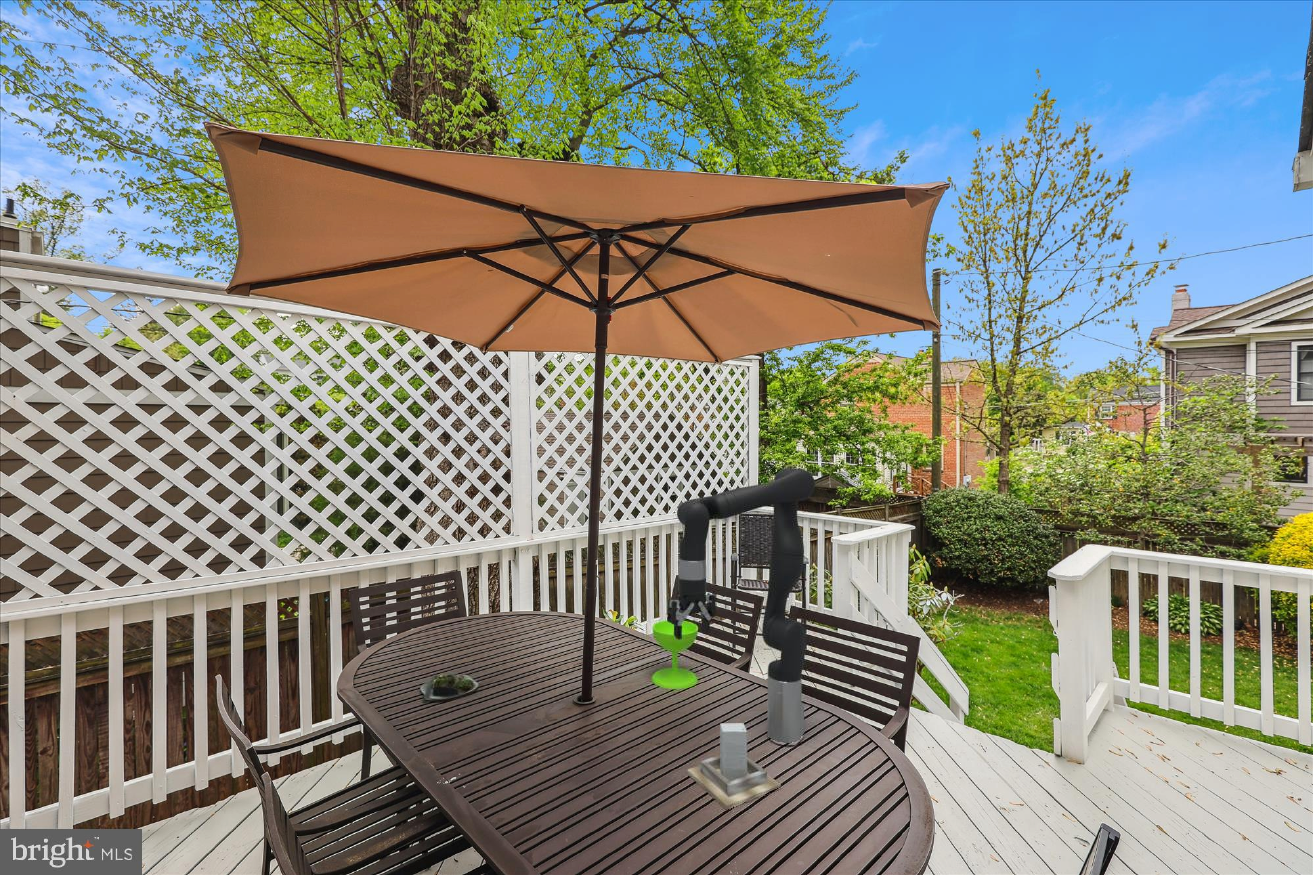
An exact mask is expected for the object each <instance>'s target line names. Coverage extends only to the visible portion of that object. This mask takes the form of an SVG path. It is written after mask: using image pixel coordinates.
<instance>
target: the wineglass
mask: <svg viewBox="0 0 1313 875" xmlns="http://www.w3.org/2000/svg"><path fill="white" fill-rule="evenodd" d="M681 625H682V639H680V640H678V639H677V638H676V637H675V636H674V624H672V623H670V622H668V621H667V620H661V621H658V622H655V623H654V624H653V625H652V628H651V629H652V633H653V636H654V639H655V641H656V643H657V644H658V646H660V647H661V648H663V649H664V650H666V651H668V652H671V653H672V654H671V659H672V660H671V667H668V668H667V667H666V668H662V669H659V670H657V671H656V672H654V674H653V675H652V677H651V681H652V683H653V684H654V685H656V686H658V687H660V688H664V689H668V690H669V689H670V690H682V689H688V688H691V687H693V686H696V685H697V683H698V676H697V674H695V673H694V672H692V670H691V671H690V670H688V669H686V668H679V667H678V666H679V663H678V661H679V658H678V655H679V654H678V653H679V652H682V651H685V650H687V649H688V648H690V647H691V646H692V645H693V644H694V642H696V639H697V636H698V631H699V626H698V625H697V624H696V623H693V622H690V621H686V620H683V622H682V624H681Z"/></svg>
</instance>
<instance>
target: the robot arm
mask: <svg viewBox="0 0 1313 875" xmlns="http://www.w3.org/2000/svg"><path fill="white" fill-rule="evenodd" d="M815 488H816V481H815V478H814V476H813V475H812V474H811V473H810V472H809V471H808V470H806V469H803V468H798V467H797V468H795V467H794V468H793V467H787V468H786V467H785V468H783V469H780V470H778V471H777V473H776V475H775V476H774V479H773V480H772V481H767V482H765V483H759V484H755V485H748V486H744V487H743V486H742V487H738V488H733V489H730V490H726V491H723V492H720V493H716V494H713V495H710V496H709V495H708V496H704V497H696V498H693V499H692V498H691V499H689V500H686V501H684V502H682V503H680V505H679V506H678V508H677V511H676V517H677V519H678V521H679V522H680V523H681V524H682V525H683V526H684V530H683V537H681V539H680V541H679V562H678V578H677V579H678V586H677V589H678V590H677V591H678V599H672V598H669V599H668V602H667V617H666V618H667V619H666V621H668V622H670V623H672V624H674V636H675V637H676V638H677V639H678V640H680V639H682V625H681V624H682V622H683V621H685V620H686V619H687V617H688V616H692V615H695V614H696V615H697V614H700V616H701V633H702V634H703V635H708V634H709V632H710V629H711V628H710V620H711V619H712V618H716V616H717V608H716V605H717V604H716V600H717V599H716V595H714V594H712V593H707V563H706V562H707V560H706V552H707V551H706V549H707V547H706V542H707V539H708V538H707V537H708V533H709V528H710V521H711V520H725V519H727V518H731V517H734V516H738V515H741V514H745V513H747V512H750V511H753V510H757V509H761V508H763V507H767V506H771V505H773V519H772V520H773V521H772V531H771V532H772V534H771V536H772V537H771V547H770V557H769V560H770V561H769V575H768V576H769V579H768V587H767V589H768V590H767V597H766V603H765V609H764V614H763V620H762V629H761V631H762V632H761V633H762V634H761V635H762V639H763V641H764V643H765V645H766V646H768V647H770V648H772V649H774V650H777V651H779V652H780V659H776V660H772V661H771V662H769V663H768V665H767V737H768V736H769V737H770V738H771V739H772V740H775V741H777V742H783V743H791V742H796V741H798V740H800V738H801V736H802V735H803V734H804V735H805V704H804V703H803V702H802V693H803V688H802V687H803V686H802V674H803V669H804V665H805V656H806V644H807V643H806V640H807V639H806V638H807V637H806V630H805V627H804V625H803V624H802V623H801V622H800V621H798V620H795V619H793V618H789V617H786V610H787V602H788V597H789V596H790V594H791V592H792V591H793V589H794V587H795V586H796V585H797V583H798V582H799V580H800V578H801V576H802V574H803V570H804V562H805V561H804V559H805V558H804V557H805V546H804V541H803V540H804V539H803V537H802V532H801V530H800V525H799V521H798V507H799V506H798V505H799V502H801V501H804V500H807V499H809V498H810V497H811V496H812V494H813V493H814V492H815ZM705 604H706V607H705ZM706 608H707V609H706Z"/></svg>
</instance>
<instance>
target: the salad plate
mask: <svg viewBox="0 0 1313 875" xmlns="http://www.w3.org/2000/svg"><path fill="white" fill-rule="evenodd" d="M419 689H420V691H421V693H422V694H423V700H426V701H430V702H433V703H445V702H452V701H455V700H458V699H459V700H460V699H463V698H466V697H469V696H470V695H471V696H472V695H474V694H475V693H476V691H477V690H478V689H479V682H477V681H476V680H474V679H473V678H472V677H471V676H469V675H467V674H453V675H452V673H448V674H445V675H443V674H440V675H437V674H436V675H433V676H432V677H431V680H430V681H428V682H426V683H423V684H422V685H421V686H420V688H419Z"/></svg>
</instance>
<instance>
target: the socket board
mask: <svg viewBox="0 0 1313 875" xmlns="http://www.w3.org/2000/svg"><path fill="white" fill-rule="evenodd" d="M699 763H700V764H699V765H696V766H694V767H691V768H688V769H687V775H688V776H689V777H690V778H692V779H693V781H695V782H696V783H697V784H698V785H699V786H700V787H702V789H704V791H705V792H707V794H709V795H710V796H711V797H712V799H714V800H715V799H716V800H715V801H716V802H717V801H718V802H717V803H718V804H719V803H720V804H719V805H720V806H722V807H723V808H724V809H725V810H726V809H727V810H726V811H729V810H731V808H732V809H734V808H737V807H739V806H741V805H740V804H742V803H744V802H746V801H749V800H750V799H752V798H754V797H757V796H760V795H761V794H764V793H767V792H769V791H772V790H774V789H777V788H779V787H781V788H782V784H781V783H779V782H778V781H777V780H776V779H774V778H773V777H772V776H770V775H769V774H768V771H767V770H766V769H764V768H762V767H761V765H759V764H757V763H756V762H755V761H753V760H752V759H751V758H750V757H748V756H747V776H744V777H741V778H739V779H736V780H733V781H728V780H727V779H726V778H725V777H724V776H723V775H721V772H720V754H718V755H716V756H713V757H710V758H706V759H703V760H701V761H700V762H699ZM749 802H750V801H749ZM744 804H745V803H744ZM738 805H739V806H738ZM742 805H743V804H742ZM736 806H737V807H736ZM733 807H734V808H733ZM728 809H729V810H728Z"/></svg>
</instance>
